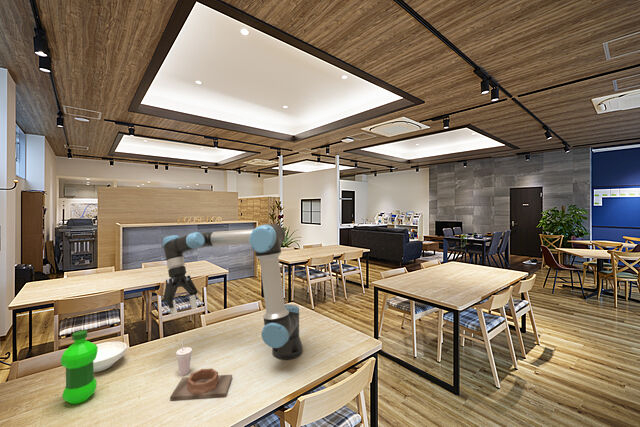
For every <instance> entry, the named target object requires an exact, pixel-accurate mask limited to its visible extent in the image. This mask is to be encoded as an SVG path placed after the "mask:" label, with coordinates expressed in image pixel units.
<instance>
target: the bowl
mask: <svg viewBox="0 0 640 427" xmlns="http://www.w3.org/2000/svg"><path fill="white" fill-rule="evenodd" d="M95 345H96V346H97V347H98V352H97V356H96V359H95V360H94V361H93V369H94V373H98V372H99V373H100V372H102V371H105V370H107V369H108V368H110V367H112V366H113V365H114V364H115V363H116V362H117V361H118V360H120V359H121V358H122V357H124V355H125V354H126V352H127V346H128V345H127V343H125V342H122V341H106V342H101V343H96V344H95Z"/></svg>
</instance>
